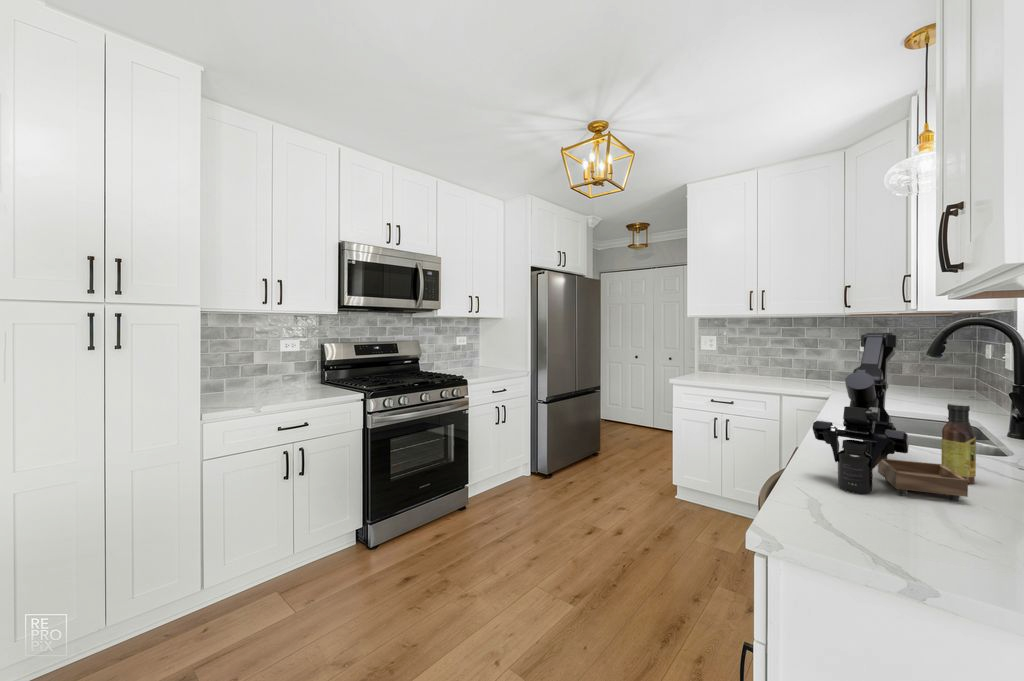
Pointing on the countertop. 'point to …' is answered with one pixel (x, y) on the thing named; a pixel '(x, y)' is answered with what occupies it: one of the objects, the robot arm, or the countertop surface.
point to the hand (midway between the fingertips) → (853, 464)
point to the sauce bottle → (959, 442)
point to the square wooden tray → (923, 478)
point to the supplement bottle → (855, 467)
